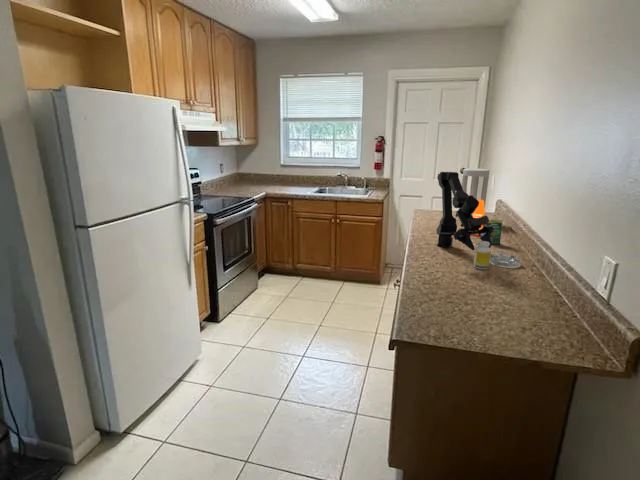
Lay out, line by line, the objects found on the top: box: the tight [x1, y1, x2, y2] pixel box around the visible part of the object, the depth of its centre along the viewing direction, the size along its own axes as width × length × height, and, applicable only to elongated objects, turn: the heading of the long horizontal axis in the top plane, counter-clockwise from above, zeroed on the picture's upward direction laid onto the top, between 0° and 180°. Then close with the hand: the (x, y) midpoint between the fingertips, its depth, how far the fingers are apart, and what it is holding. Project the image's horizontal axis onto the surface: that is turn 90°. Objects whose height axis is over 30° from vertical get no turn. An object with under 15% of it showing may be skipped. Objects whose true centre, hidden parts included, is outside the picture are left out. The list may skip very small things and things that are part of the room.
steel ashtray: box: [489, 252, 522, 269], centre depth 179 cm, size 14×14×3 cm
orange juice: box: [462, 199, 486, 230], centre depth 231 cm, size 8×9×20 cm
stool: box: [457, 167, 490, 220], centre depth 259 cm, size 16×16×35 cm
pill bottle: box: [472, 240, 492, 270], centre depth 172 cm, size 6×6×12 cm
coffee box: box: [485, 218, 503, 245], centre depth 210 cm, size 8×3×13 cm, turn 66°
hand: (482, 248), depth 172 cm, fingers open, 9 cm apart
